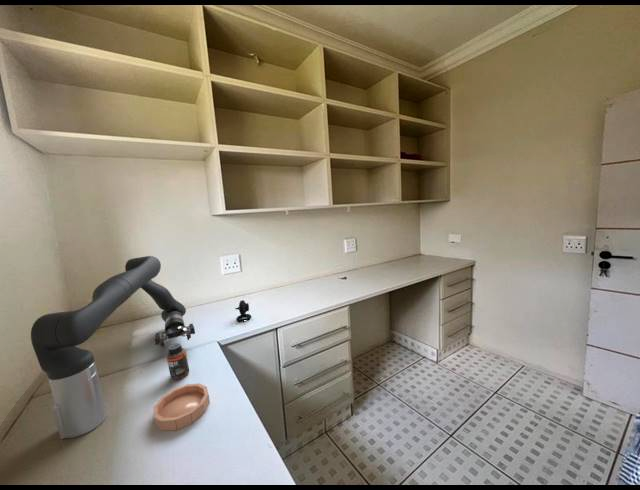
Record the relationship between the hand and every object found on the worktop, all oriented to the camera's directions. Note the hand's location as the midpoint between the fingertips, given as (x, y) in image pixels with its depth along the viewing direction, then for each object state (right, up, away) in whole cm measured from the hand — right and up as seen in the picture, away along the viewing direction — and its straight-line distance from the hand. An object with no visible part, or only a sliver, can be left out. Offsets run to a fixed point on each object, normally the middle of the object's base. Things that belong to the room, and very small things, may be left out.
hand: (176, 341), depth 100 cm
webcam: (+16, -1, +34) cm, 38 cm away
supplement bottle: (+6, -9, -8) cm, 14 cm away
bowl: (+16, -11, -25) cm, 31 cm away
